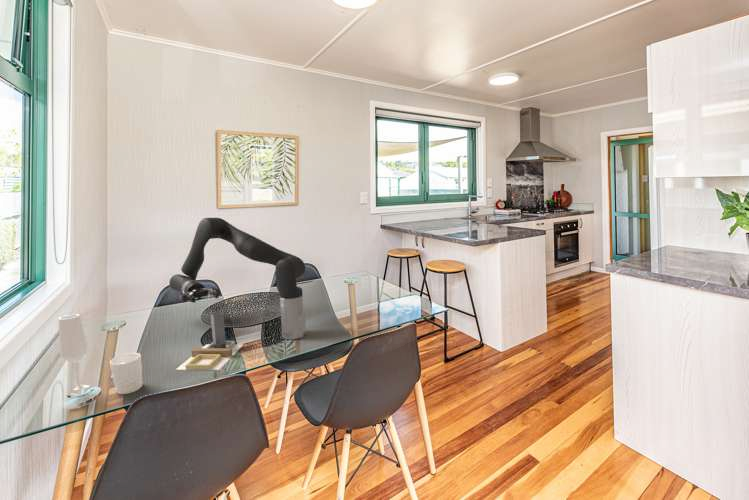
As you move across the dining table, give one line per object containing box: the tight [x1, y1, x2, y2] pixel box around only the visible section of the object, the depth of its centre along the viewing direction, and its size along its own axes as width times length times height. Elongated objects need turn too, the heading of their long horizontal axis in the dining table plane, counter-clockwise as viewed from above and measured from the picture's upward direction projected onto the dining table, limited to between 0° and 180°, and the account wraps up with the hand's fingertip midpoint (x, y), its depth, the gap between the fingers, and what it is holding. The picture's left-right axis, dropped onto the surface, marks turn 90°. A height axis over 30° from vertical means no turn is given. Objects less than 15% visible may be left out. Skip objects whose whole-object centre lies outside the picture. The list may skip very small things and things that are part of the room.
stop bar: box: [210, 311, 227, 348], centre depth 135 cm, size 4×4×14 cm
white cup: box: [109, 352, 143, 395], centre depth 110 cm, size 8×8×10 cm
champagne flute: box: [58, 313, 90, 390], centre depth 108 cm, size 7×7×24 cm
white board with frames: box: [175, 340, 245, 371], centre depth 130 cm, size 20×15×4 cm
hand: (205, 298), depth 141 cm, fingers open, 8 cm apart
